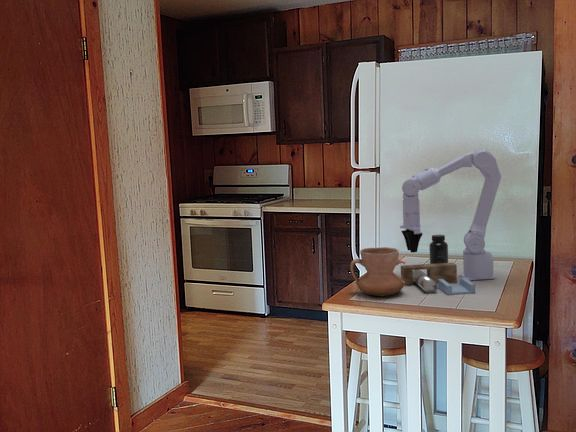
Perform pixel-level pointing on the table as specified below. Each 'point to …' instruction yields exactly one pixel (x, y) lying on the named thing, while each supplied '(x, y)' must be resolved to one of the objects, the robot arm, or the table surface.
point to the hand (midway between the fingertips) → (412, 251)
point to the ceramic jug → (379, 271)
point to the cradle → (457, 287)
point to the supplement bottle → (438, 250)
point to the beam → (431, 272)
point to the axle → (424, 281)
